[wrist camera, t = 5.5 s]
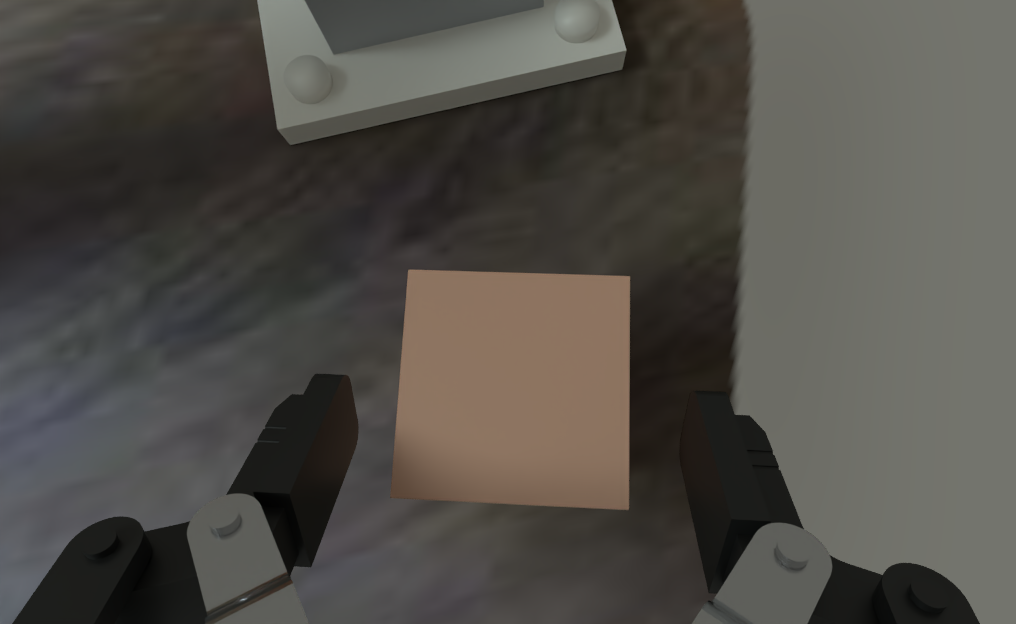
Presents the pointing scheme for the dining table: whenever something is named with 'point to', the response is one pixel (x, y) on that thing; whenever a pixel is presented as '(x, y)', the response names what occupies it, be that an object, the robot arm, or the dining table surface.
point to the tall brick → (514, 389)
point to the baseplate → (423, 56)
